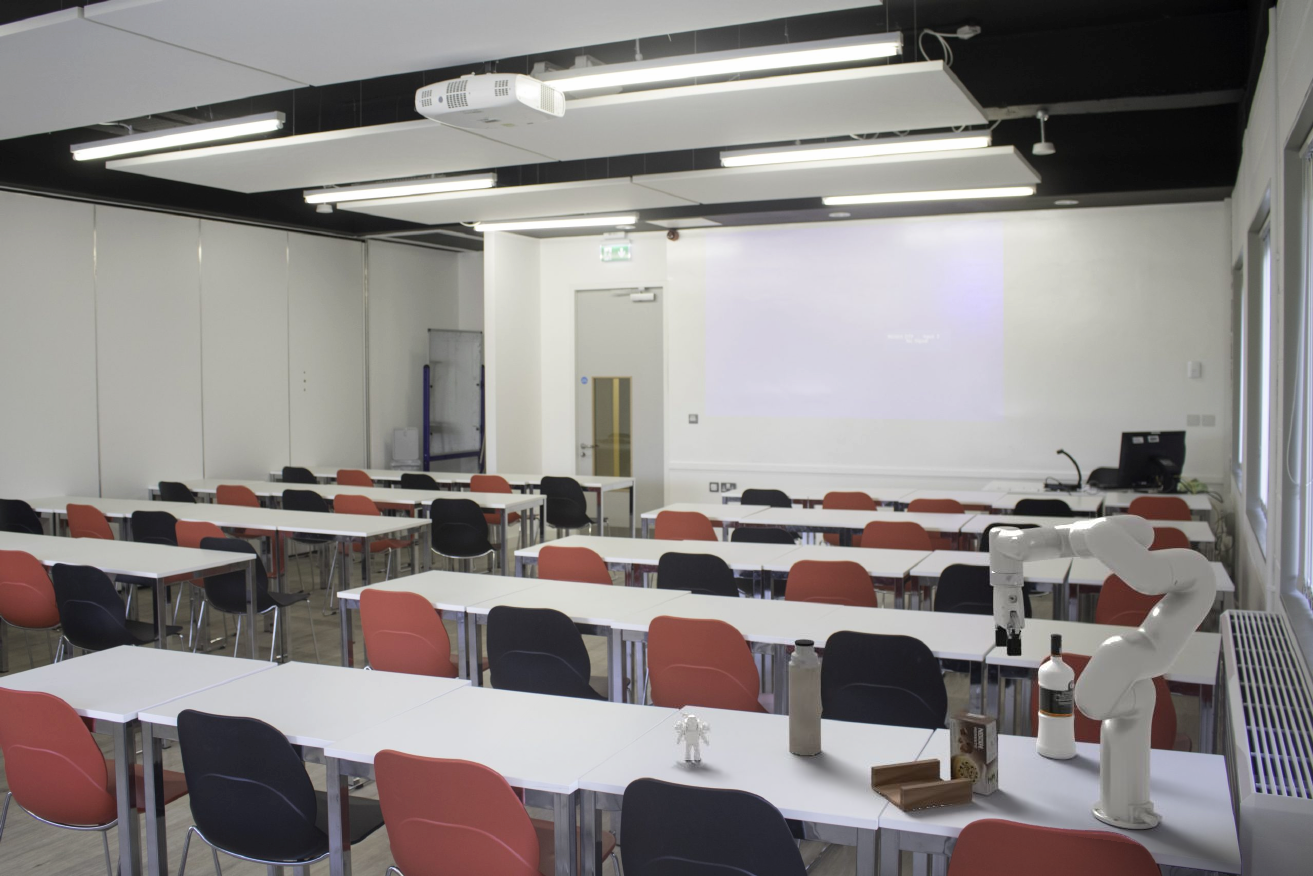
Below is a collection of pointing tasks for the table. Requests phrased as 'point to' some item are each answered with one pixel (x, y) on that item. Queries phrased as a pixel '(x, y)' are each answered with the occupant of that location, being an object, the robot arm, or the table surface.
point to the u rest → (919, 785)
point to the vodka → (1056, 706)
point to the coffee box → (974, 750)
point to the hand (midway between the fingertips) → (1008, 651)
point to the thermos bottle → (804, 699)
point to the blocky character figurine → (692, 735)
